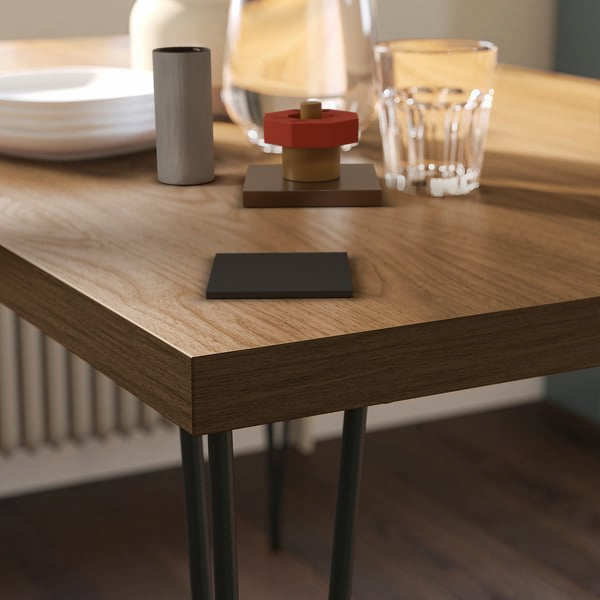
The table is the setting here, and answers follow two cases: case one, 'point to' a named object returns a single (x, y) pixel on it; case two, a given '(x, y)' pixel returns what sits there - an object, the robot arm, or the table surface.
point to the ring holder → (311, 177)
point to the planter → (183, 115)
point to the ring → (311, 129)
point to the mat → (280, 275)
